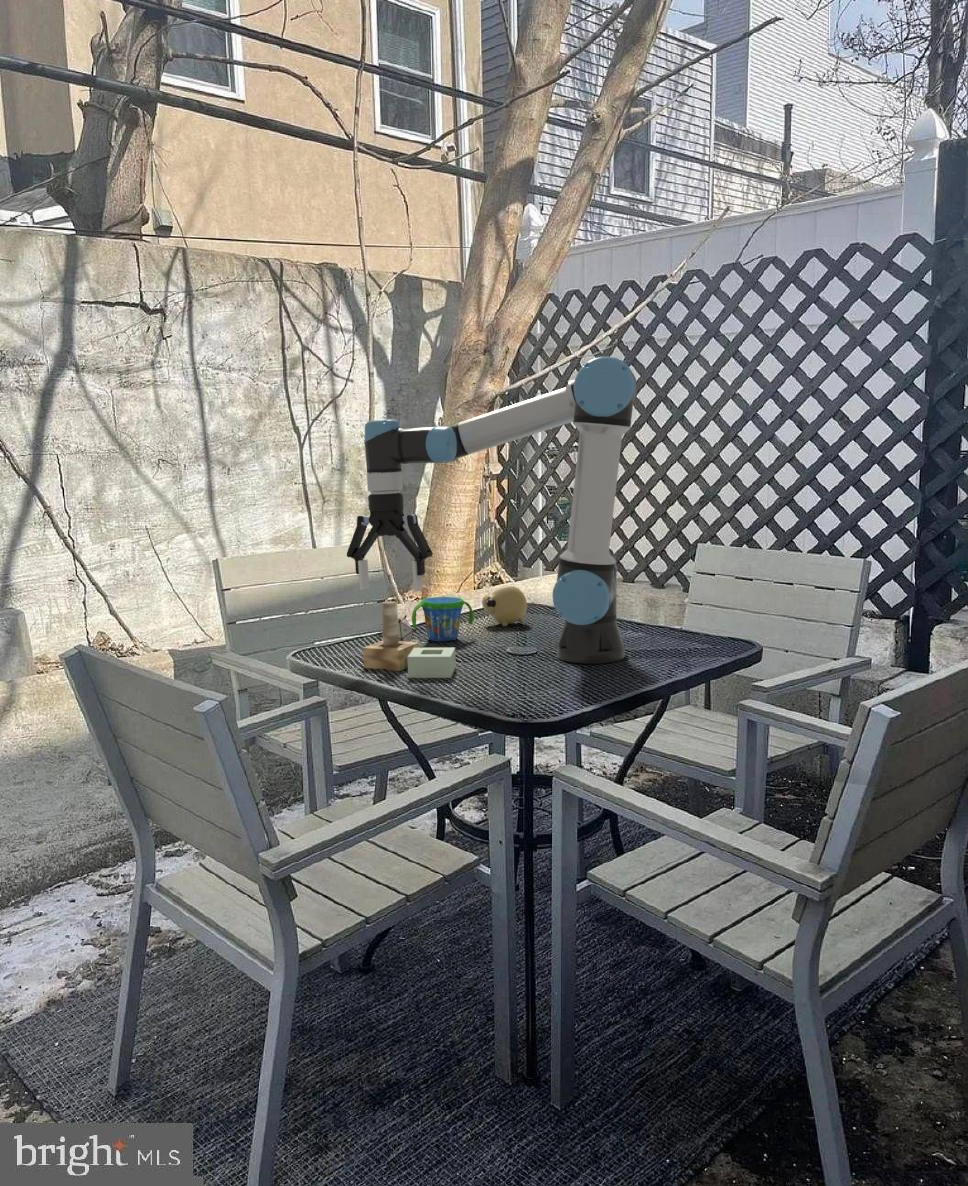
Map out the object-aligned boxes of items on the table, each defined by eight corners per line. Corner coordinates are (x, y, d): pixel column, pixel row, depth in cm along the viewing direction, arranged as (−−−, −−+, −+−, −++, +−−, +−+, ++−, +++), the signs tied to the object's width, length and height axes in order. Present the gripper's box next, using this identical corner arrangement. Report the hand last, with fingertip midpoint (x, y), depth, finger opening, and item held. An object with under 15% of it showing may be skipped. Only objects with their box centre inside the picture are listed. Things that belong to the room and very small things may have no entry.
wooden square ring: (419, 662, 208) (418, 642, 207) (399, 670, 199) (398, 650, 199) (384, 659, 211) (384, 639, 211) (363, 667, 203) (363, 647, 202)
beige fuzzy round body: (480, 622, 254) (479, 584, 252) (523, 620, 256) (522, 582, 254) (485, 629, 244) (484, 589, 243) (530, 627, 246) (529, 587, 244)
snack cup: (469, 633, 239) (468, 594, 238) (478, 641, 229) (477, 601, 227) (409, 637, 236) (408, 598, 234) (416, 645, 225) (414, 604, 224)
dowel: (402, 663, 206) (400, 602, 204) (394, 667, 203) (392, 604, 201) (389, 662, 208) (386, 601, 205) (381, 665, 205) (378, 603, 202)
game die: (403, 665, 221) (408, 637, 214) (371, 652, 222) (375, 624, 215) (418, 641, 227) (423, 613, 220) (387, 628, 228) (391, 600, 221)
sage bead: (455, 667, 201) (455, 647, 201) (450, 677, 192) (450, 656, 192) (414, 667, 202) (414, 647, 201) (408, 677, 193) (407, 656, 192)
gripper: (444, 490, 198) (449, 588, 201) (346, 493, 208) (352, 586, 211) (428, 492, 191) (433, 593, 194) (327, 494, 201) (333, 591, 205)
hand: (391, 589), depth 203 cm, fingers open, 13 cm apart
